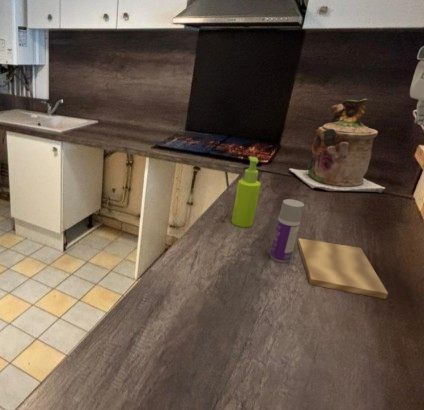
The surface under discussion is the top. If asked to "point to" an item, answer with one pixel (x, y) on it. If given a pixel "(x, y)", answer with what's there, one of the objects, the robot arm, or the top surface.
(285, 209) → the container
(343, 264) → the cutting board
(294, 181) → the top surface
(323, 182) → the cookie jar
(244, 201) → the soap dispenser
